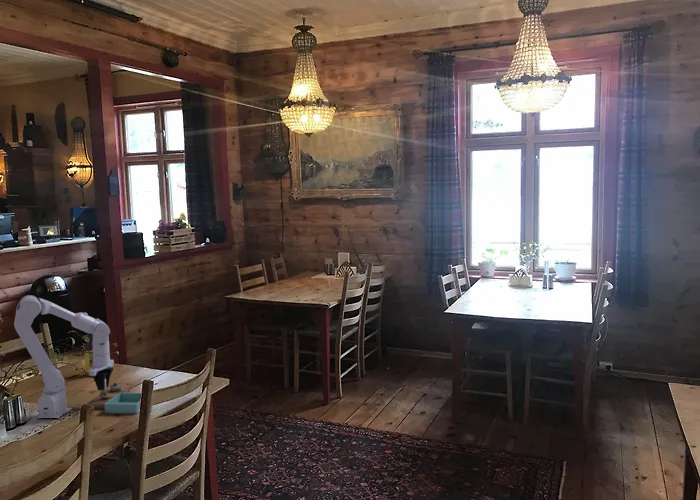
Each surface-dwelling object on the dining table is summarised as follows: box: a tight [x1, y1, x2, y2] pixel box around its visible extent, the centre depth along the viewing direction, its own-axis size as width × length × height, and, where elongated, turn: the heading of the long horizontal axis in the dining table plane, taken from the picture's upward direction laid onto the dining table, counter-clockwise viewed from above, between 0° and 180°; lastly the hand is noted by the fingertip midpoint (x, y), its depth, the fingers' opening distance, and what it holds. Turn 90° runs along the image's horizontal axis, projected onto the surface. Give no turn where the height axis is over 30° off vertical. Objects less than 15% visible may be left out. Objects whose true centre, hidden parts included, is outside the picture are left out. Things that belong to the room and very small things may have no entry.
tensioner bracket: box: [86, 382, 131, 410], centre depth 219 cm, size 18×8×5 cm, turn 176°
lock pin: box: [99, 378, 108, 397], centre depth 215 cm, size 2×2×7 cm
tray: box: [104, 392, 142, 415], centre depth 212 cm, size 12×12×4 cm
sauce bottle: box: [84, 333, 94, 377], centre depth 251 cm, size 7×6×20 cm
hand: (103, 388), depth 215 cm, fingers closed on lock pin, 2 cm apart
